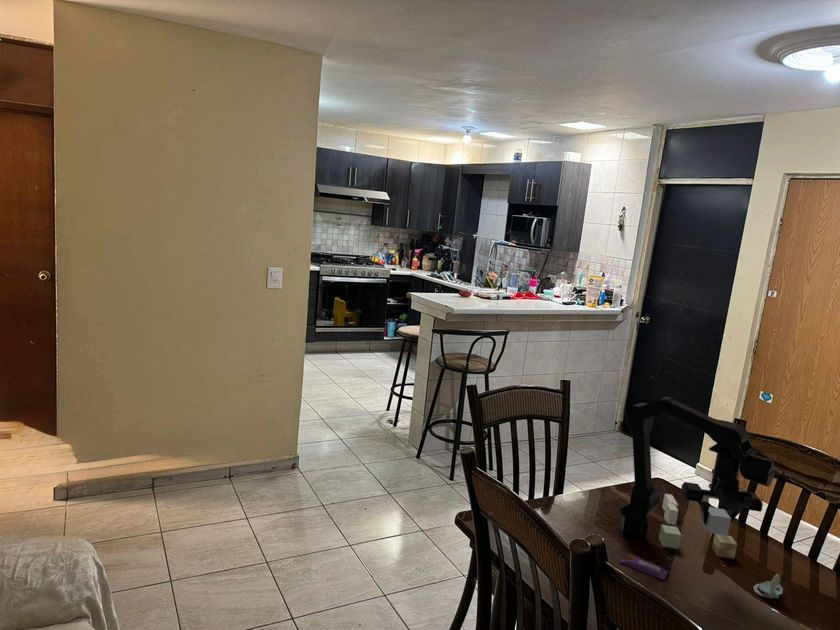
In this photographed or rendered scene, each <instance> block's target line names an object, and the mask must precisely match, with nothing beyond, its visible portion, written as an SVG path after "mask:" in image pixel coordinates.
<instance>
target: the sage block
mask: <svg viewBox="0 0 840 630" xmlns="http://www.w3.org/2000/svg"><path fill="white" fill-rule="evenodd" d="M659 529H660V530H659V536H658V540H659V542H660V544H661V546H662V547H664V548H669V547H670V548H669V549H674V550H675V549H676V550H679V549H680V545H681V542H682V541H681V540H682V533H681V531H680V530H679V528H678V527H677V526H674V525H668V524H667V525H666V524H661V525H660V528H659Z"/></svg>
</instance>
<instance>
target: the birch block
mask: <svg viewBox="0 0 840 630" xmlns="http://www.w3.org/2000/svg"><path fill="white" fill-rule="evenodd" d="M712 541H713V542H712V547H711V548H712V550H713V551H714V553H715V554H716V556H717V557H721V558H728V559H732V560H734V559H735V557H736V553H737V547H738V544H737V542H736V541H735V540H734V537H732V536H731V535H728V536H724V535H718V534H714V537H713V540H712Z"/></svg>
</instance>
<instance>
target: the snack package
mask: <svg viewBox="0 0 840 630" xmlns="http://www.w3.org/2000/svg"><path fill="white" fill-rule="evenodd" d="M619 562H620V563H621V564H623V565H625V566H627V567H629V568H633V569H635V570H638V571H640V572H643V573H645V574H647V575H650V576H652V577H654V578H657V579H659V580H663V581H665V579H666V578H667V575H668V573H669V571H668V570H666V569H664V568H663V567H661V566H659V565H658V564H656V563H653V562H651V561H648V560H647V559H646V560H645V559H644V558H641V557H639V556H637V555H636V556H635V555H633V554H626V553H624V554H623V556H622V557H621V559H620V560H619Z"/></svg>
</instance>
